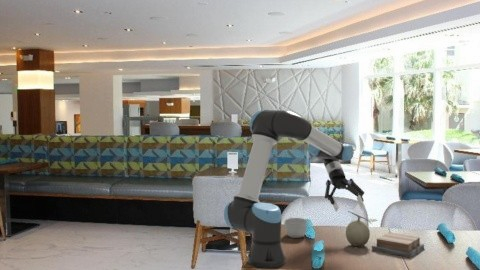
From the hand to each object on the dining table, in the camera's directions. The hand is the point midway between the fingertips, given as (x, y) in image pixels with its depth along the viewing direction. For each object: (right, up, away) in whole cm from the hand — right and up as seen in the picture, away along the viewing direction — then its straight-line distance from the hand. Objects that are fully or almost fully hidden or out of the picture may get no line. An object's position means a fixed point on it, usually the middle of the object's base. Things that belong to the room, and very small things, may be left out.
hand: (350, 208), depth 233 cm
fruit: (+2, -16, -8) cm, 18 cm away
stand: (+18, -16, -13) cm, 28 cm away
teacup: (-25, -15, +10) cm, 30 cm away
